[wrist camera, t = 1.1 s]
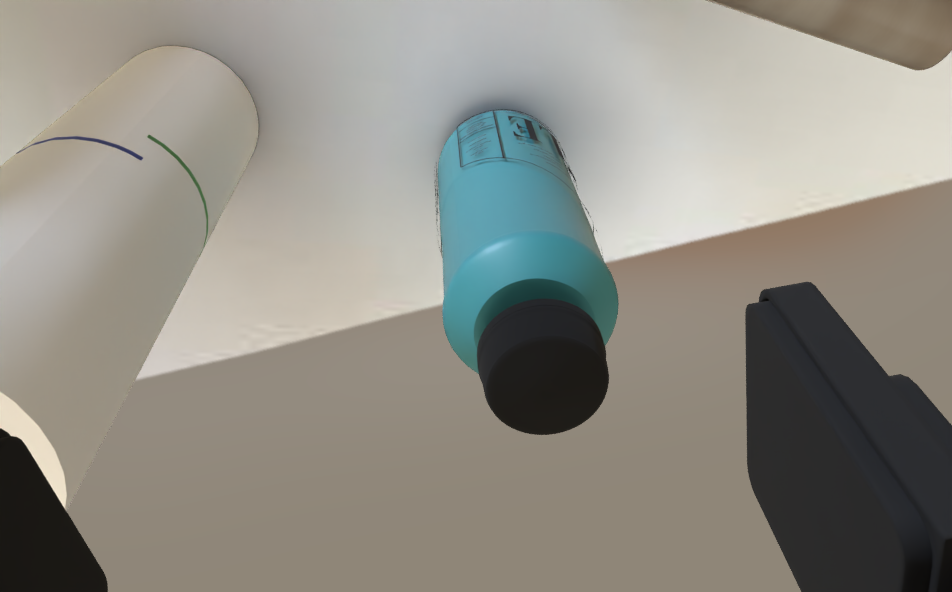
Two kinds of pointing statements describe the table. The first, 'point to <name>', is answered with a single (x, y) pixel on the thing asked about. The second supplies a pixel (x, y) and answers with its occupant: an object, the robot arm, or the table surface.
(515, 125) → the beverage bottle
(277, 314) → the table surface
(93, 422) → the cylindrical container
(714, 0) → the box lid
